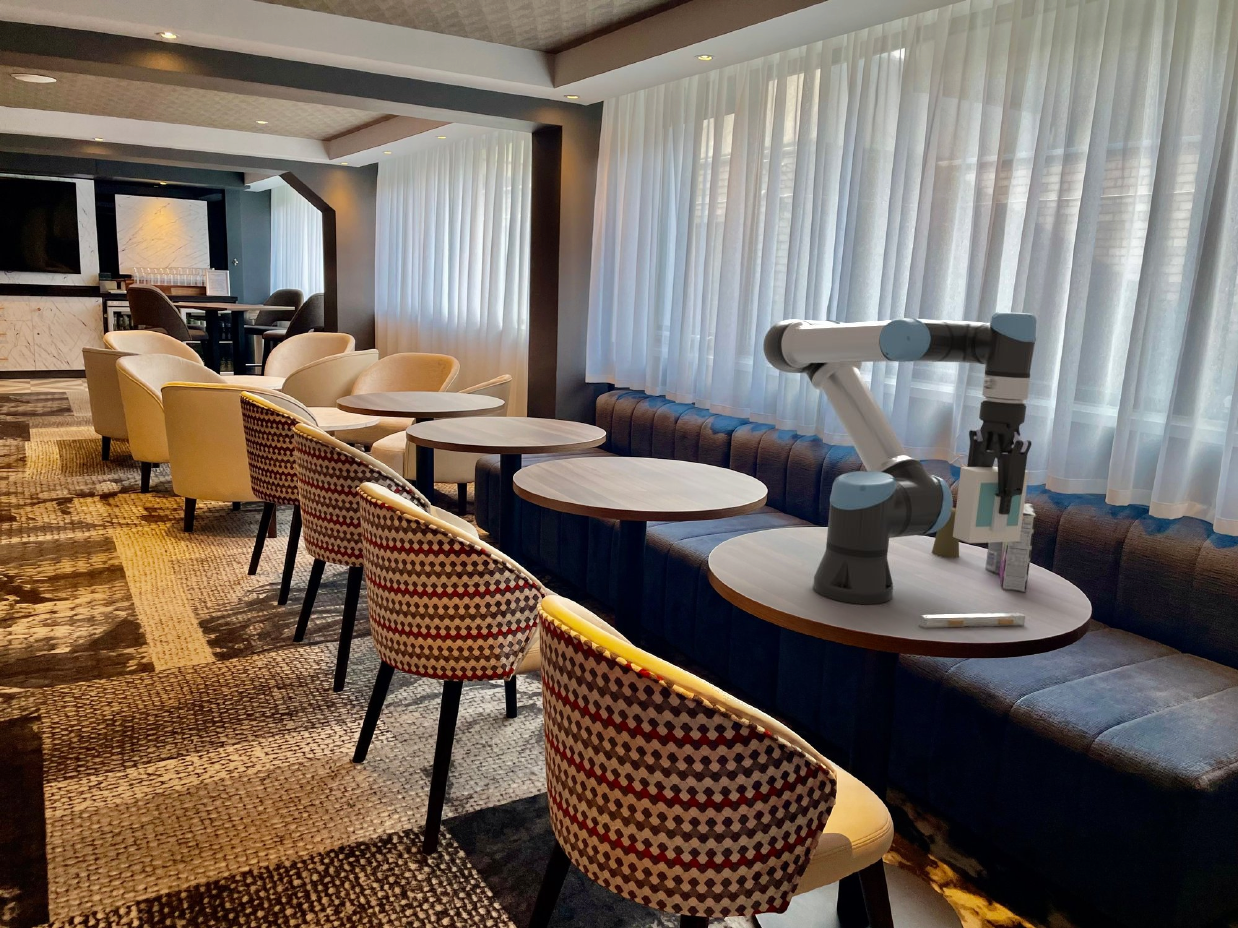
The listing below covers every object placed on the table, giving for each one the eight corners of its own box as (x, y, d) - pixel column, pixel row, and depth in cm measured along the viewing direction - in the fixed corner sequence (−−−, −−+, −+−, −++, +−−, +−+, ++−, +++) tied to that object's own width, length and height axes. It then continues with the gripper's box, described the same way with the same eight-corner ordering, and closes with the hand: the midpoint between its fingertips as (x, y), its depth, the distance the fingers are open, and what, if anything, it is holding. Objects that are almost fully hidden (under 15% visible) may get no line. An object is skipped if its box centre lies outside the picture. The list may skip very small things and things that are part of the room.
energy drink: (1007, 568, 201) (1014, 515, 198) (1015, 575, 195) (1022, 521, 193) (982, 566, 201) (989, 513, 199) (989, 573, 196) (996, 519, 194)
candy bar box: (997, 574, 195) (1007, 500, 192) (1022, 578, 193) (1033, 503, 190) (999, 589, 185) (1010, 511, 182) (1026, 593, 183) (1037, 514, 180)
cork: (929, 549, 213) (934, 504, 211) (955, 552, 212) (961, 506, 210) (934, 556, 207) (940, 509, 205) (961, 558, 206) (967, 512, 204)
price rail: (924, 628, 159) (925, 618, 158) (919, 624, 161) (920, 614, 160) (1025, 626, 163) (1026, 616, 162) (1018, 622, 165) (1020, 613, 164)
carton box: (952, 536, 166) (961, 467, 164) (1002, 534, 169) (1011, 466, 167) (969, 543, 161) (978, 471, 159) (1020, 541, 165) (1029, 471, 162)
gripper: (954, 394, 168) (939, 516, 172) (1022, 406, 151) (1004, 540, 155) (987, 395, 170) (972, 515, 174) (1058, 406, 154) (1040, 539, 158)
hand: (987, 527), depth 165 cm, fingers closed on carton box, 5 cm apart
